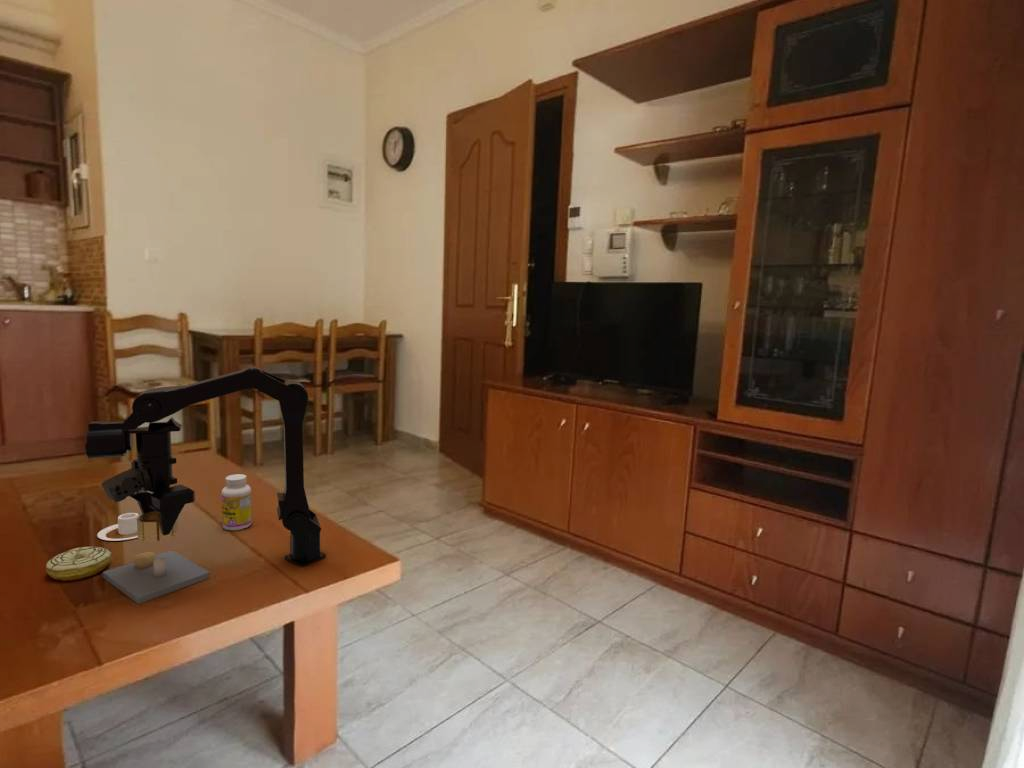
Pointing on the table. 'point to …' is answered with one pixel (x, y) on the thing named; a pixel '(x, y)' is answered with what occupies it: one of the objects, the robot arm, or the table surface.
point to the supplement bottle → (236, 503)
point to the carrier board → (152, 584)
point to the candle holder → (122, 527)
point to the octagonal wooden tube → (153, 528)
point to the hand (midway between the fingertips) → (158, 530)
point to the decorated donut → (78, 563)
